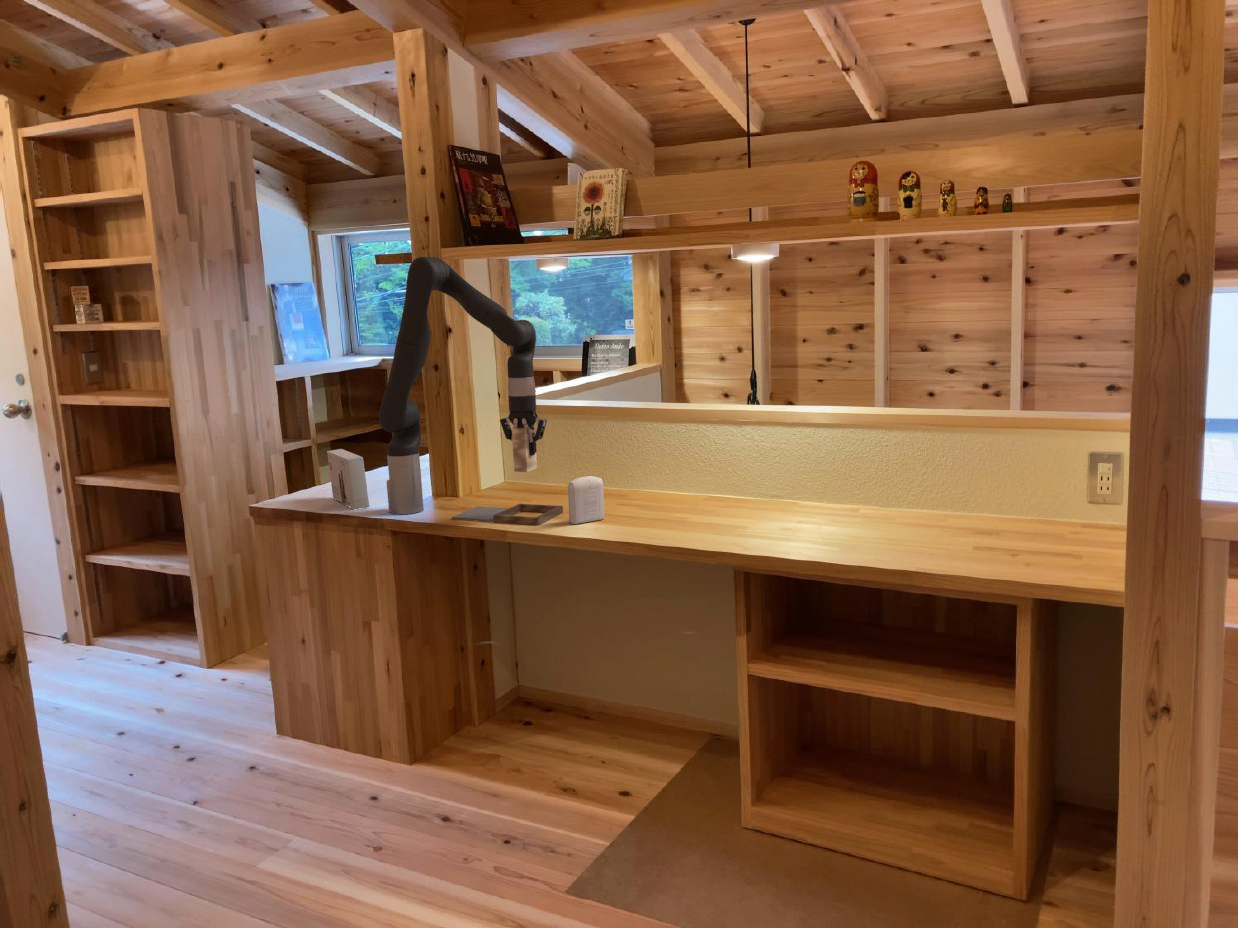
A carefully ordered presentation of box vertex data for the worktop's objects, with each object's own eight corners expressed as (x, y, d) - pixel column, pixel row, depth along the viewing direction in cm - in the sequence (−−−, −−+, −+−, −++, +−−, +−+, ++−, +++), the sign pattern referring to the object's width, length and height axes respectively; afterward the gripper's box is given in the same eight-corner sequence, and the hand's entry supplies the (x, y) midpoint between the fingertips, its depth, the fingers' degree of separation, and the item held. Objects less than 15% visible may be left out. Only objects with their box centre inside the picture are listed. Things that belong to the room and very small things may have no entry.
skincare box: (331, 499, 306) (326, 450, 303) (347, 497, 309) (343, 448, 306) (352, 510, 289) (347, 458, 286) (370, 507, 292) (365, 456, 289)
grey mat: (451, 519, 272) (451, 517, 272) (477, 508, 284) (477, 506, 284) (488, 521, 267) (488, 519, 267) (512, 510, 280) (512, 508, 280)
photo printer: (598, 516, 268) (596, 473, 265) (607, 519, 264) (605, 475, 262) (566, 522, 262) (564, 478, 260) (575, 525, 259) (572, 480, 256)
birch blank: (514, 471, 266) (511, 428, 264) (524, 467, 271) (522, 425, 269) (527, 472, 264) (524, 429, 262) (537, 468, 270) (534, 425, 267)
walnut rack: (493, 522, 266) (493, 515, 266) (519, 510, 280) (519, 503, 279) (538, 525, 261) (538, 518, 260) (563, 512, 274) (562, 505, 274)
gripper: (492, 394, 263) (495, 456, 266) (538, 395, 258) (541, 458, 261) (505, 391, 270) (509, 451, 273) (551, 392, 264) (554, 453, 268)
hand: (525, 454), depth 267 cm, fingers closed on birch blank, 4 cm apart
